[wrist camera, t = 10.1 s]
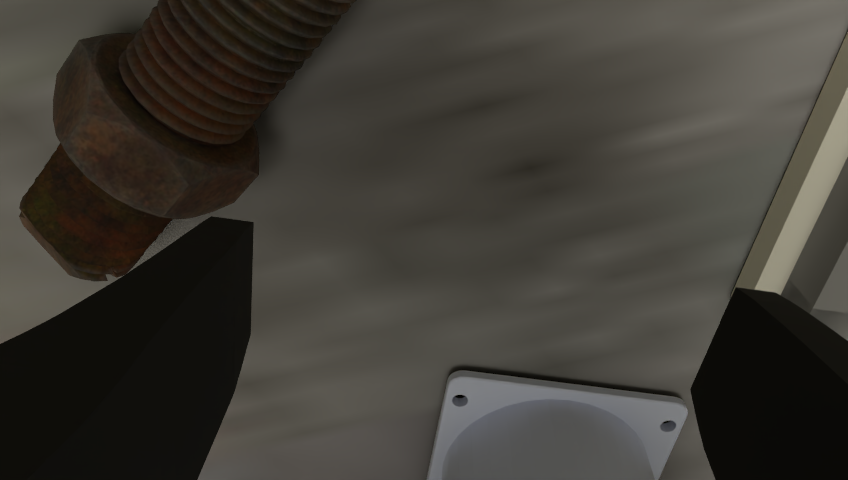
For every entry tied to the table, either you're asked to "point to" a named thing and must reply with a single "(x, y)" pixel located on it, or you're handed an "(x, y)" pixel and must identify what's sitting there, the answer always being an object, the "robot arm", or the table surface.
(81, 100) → the bolt
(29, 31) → the table surface
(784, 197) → the keyhole plate
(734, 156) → the table surface
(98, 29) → the table surface
